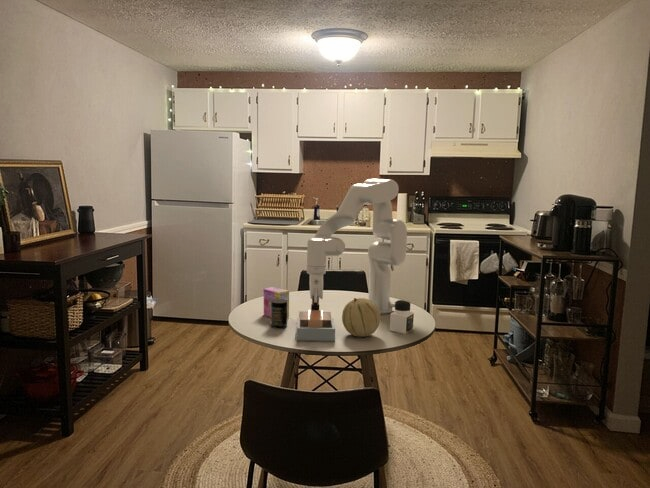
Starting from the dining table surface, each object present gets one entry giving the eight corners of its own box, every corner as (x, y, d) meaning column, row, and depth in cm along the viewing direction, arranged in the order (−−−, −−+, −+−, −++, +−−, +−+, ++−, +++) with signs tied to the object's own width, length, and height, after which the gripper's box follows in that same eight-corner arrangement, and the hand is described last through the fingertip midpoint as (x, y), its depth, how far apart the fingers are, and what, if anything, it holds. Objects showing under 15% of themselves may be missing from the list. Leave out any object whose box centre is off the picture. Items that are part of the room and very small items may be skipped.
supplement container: (288, 328, 196) (289, 302, 195) (271, 329, 195) (271, 303, 193) (285, 323, 203) (286, 298, 201) (269, 324, 201) (269, 299, 200)
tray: (332, 330, 195) (333, 317, 195) (334, 342, 181) (335, 328, 181) (297, 329, 195) (297, 317, 194) (296, 341, 181) (296, 328, 180)
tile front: (322, 316, 191) (322, 319, 188) (322, 329, 193) (322, 332, 190) (308, 316, 191) (308, 319, 188) (307, 329, 192) (307, 332, 189)
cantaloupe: (387, 338, 187) (389, 299, 185) (356, 344, 179) (358, 304, 177) (364, 327, 200) (365, 291, 198) (333, 333, 192) (334, 295, 190)
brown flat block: (330, 321, 207) (330, 311, 207) (331, 330, 196) (331, 320, 195) (299, 320, 207) (299, 311, 206) (298, 329, 195) (298, 319, 194)
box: (263, 315, 214) (263, 288, 212) (273, 312, 218) (273, 286, 216) (279, 320, 207) (279, 292, 205) (289, 317, 211) (289, 290, 209)
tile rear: (322, 317, 197) (322, 310, 196) (322, 323, 192) (322, 317, 191) (308, 316, 197) (308, 310, 196) (308, 323, 192) (308, 316, 191)
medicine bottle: (406, 334, 193) (407, 304, 191) (389, 330, 197) (390, 301, 195) (413, 329, 199) (414, 300, 197) (396, 326, 203) (398, 298, 201)
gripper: (326, 273, 189) (324, 320, 191) (325, 266, 204) (323, 309, 206) (306, 272, 189) (305, 319, 191) (306, 265, 203) (305, 309, 206)
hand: (315, 314), depth 199 cm, fingers closed
